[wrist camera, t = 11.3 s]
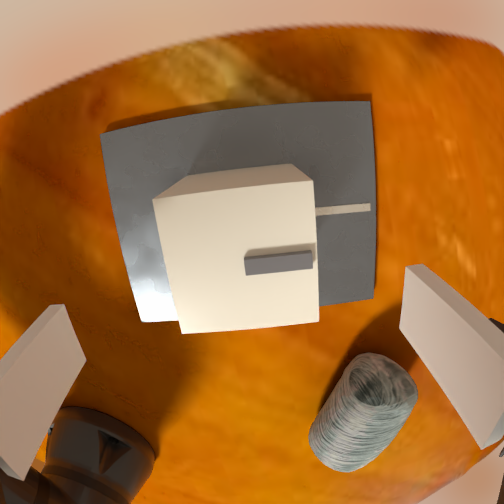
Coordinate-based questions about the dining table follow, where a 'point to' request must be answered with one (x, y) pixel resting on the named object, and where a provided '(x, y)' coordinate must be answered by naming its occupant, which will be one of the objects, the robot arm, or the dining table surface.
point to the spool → (362, 412)
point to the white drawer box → (241, 248)
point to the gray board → (245, 156)
